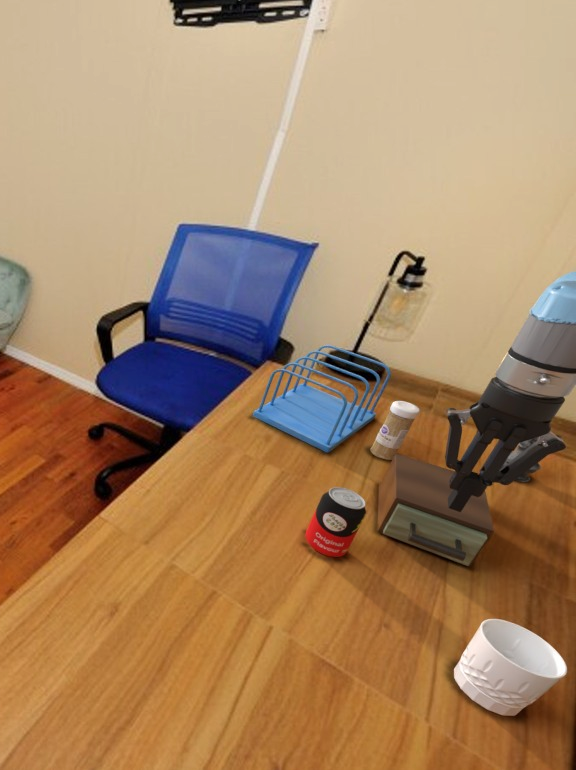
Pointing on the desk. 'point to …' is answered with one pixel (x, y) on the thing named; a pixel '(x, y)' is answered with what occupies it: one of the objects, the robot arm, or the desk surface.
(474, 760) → the desk surface
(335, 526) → the beverage can
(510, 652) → the white cup
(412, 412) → the sprinkles bottle
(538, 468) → the grey chess piece
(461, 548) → the drawer
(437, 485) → the cabinet
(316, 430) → the file sorter
